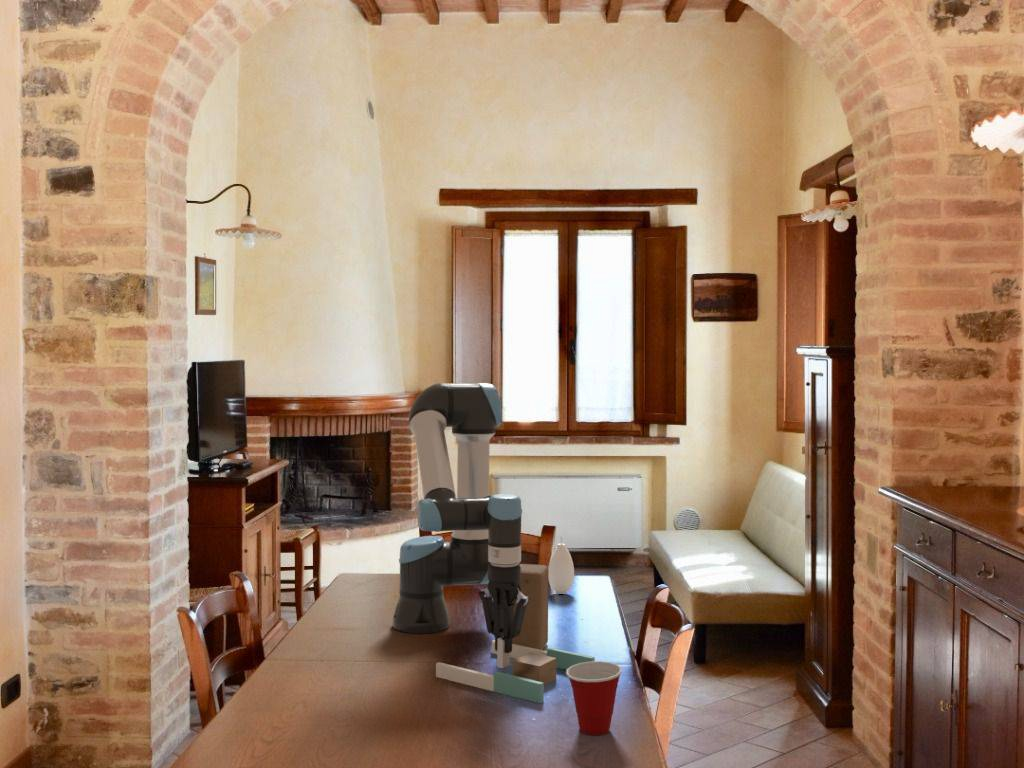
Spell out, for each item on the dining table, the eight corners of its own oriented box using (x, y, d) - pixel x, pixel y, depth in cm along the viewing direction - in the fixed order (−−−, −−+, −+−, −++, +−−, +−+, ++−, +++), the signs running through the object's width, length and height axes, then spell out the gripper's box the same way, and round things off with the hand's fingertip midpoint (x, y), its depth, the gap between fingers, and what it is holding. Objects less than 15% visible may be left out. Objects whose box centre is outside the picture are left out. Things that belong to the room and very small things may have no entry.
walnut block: (512, 682, 213) (512, 660, 213) (530, 674, 219) (530, 652, 218) (539, 689, 209) (539, 666, 209) (556, 680, 215) (556, 658, 215)
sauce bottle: (544, 592, 294) (545, 533, 294) (569, 590, 296) (570, 532, 295) (552, 598, 286) (552, 538, 286) (577, 596, 288) (577, 537, 288)
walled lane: (435, 676, 216) (435, 659, 216) (494, 651, 234) (494, 635, 234) (540, 703, 200) (540, 684, 200) (594, 674, 218) (594, 657, 218)
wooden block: (540, 655, 231) (541, 573, 231) (500, 652, 234) (500, 570, 233) (548, 643, 241) (549, 564, 241) (509, 640, 244) (510, 562, 243)
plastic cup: (561, 719, 191) (562, 659, 190) (615, 718, 192) (616, 658, 191) (569, 741, 180) (570, 678, 180) (626, 740, 181) (627, 677, 181)
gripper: (471, 562, 219) (470, 664, 220) (519, 570, 212) (517, 676, 213) (490, 556, 225) (489, 656, 226) (537, 564, 218) (536, 666, 219)
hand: (503, 665), depth 219 cm, fingers closed
